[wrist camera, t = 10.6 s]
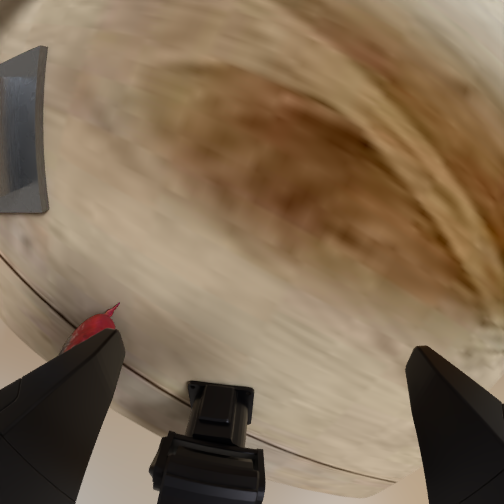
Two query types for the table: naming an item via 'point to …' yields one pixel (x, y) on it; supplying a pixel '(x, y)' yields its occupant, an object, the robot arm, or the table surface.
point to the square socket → (22, 133)
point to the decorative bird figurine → (90, 329)
